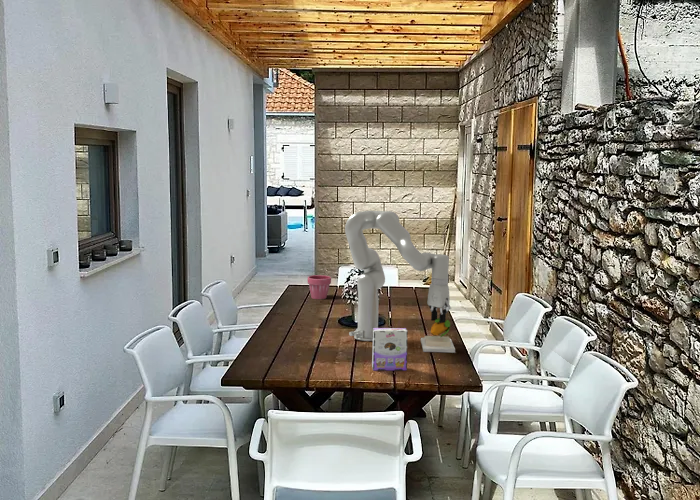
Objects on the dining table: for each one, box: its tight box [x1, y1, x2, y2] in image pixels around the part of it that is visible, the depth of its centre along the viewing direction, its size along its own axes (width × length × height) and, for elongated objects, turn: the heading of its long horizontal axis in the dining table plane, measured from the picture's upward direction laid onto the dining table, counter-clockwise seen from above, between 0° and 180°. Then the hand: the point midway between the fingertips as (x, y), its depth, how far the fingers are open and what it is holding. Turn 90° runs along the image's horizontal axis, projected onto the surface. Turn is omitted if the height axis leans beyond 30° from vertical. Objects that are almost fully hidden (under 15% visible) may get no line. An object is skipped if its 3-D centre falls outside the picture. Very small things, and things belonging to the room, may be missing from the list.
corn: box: [430, 317, 451, 337], centre depth 343 cm, size 7×8×20 cm
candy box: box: [371, 327, 409, 371], centre depth 305 cm, size 14×6×16 cm, turn 92°
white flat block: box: [420, 335, 456, 354], centre depth 344 cm, size 20×14×4 cm
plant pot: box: [307, 274, 332, 300], centre depth 456 cm, size 14×14×13 cm
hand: (438, 321), depth 343 cm, fingers closed on corn, 4 cm apart
